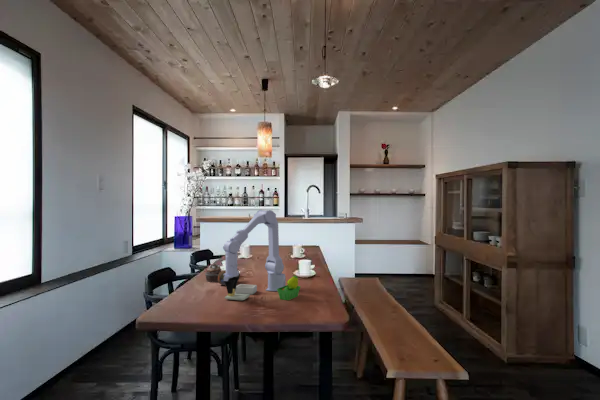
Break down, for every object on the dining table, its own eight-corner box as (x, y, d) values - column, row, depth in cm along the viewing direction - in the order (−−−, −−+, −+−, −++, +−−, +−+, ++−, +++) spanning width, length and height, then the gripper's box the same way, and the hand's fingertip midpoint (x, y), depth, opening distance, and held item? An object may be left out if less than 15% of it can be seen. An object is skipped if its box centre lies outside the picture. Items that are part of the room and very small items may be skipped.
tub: (256, 291, 190) (256, 284, 190) (252, 294, 184) (252, 287, 184) (239, 290, 192) (239, 284, 192) (235, 293, 186) (235, 287, 186)
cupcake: (212, 278, 222) (212, 262, 222) (224, 279, 217) (224, 263, 217) (201, 281, 213) (201, 264, 213) (214, 283, 209) (214, 266, 209)
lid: (249, 297, 179) (249, 288, 179) (244, 301, 172) (244, 292, 172) (230, 296, 181) (230, 287, 181) (224, 300, 174) (224, 290, 174)
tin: (220, 286, 201) (220, 271, 201) (216, 285, 203) (216, 271, 203) (240, 281, 213) (240, 267, 213) (236, 280, 215) (236, 267, 215)
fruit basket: (288, 294, 185) (288, 272, 185) (303, 296, 181) (303, 274, 181) (276, 299, 175) (276, 276, 175) (291, 302, 171) (291, 278, 171)
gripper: (229, 262, 185) (229, 288, 185) (217, 267, 170) (217, 295, 170) (242, 262, 183) (242, 289, 183) (231, 268, 169) (231, 296, 169)
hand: (231, 292), depth 177 cm, fingers open, 3 cm apart
